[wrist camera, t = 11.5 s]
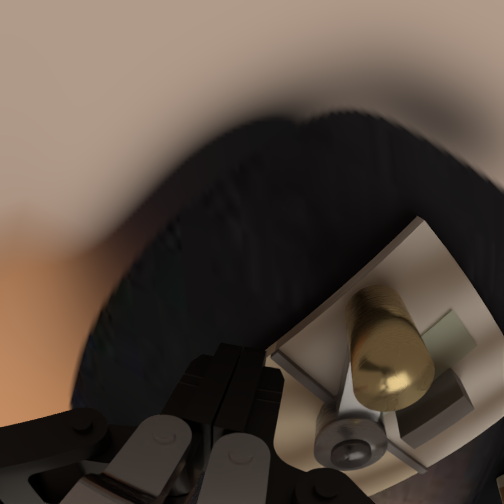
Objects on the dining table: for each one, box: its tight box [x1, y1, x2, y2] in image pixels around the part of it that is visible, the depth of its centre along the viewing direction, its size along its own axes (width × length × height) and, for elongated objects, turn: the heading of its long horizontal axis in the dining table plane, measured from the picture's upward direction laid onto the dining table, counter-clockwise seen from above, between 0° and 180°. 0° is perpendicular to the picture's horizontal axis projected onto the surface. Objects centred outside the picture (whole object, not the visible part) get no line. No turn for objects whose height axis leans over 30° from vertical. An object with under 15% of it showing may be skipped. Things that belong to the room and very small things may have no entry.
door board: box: [265, 216, 504, 496], centre depth 18 cm, size 18×22×4 cm
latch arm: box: [314, 285, 435, 471], centre depth 14 cm, size 12×4×6 cm, turn 0°
